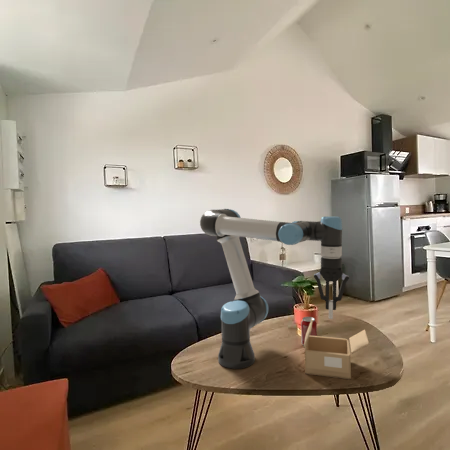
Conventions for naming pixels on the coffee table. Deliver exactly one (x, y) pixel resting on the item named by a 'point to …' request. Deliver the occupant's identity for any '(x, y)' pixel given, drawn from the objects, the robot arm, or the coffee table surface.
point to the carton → (328, 357)
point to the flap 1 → (308, 333)
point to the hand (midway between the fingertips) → (330, 317)
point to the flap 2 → (358, 341)
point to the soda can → (305, 325)
